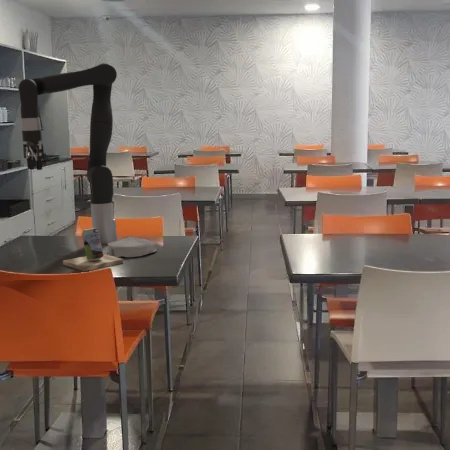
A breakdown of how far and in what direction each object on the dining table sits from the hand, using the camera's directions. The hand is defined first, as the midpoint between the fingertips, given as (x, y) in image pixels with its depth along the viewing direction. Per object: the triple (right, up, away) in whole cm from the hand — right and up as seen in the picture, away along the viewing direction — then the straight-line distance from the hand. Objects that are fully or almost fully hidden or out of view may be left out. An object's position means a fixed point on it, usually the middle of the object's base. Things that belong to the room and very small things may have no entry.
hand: (34, 169), depth 260 cm
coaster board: (+29, -37, -27) cm, 54 cm away
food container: (+41, -34, -9) cm, 54 cm away
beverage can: (+30, -36, -27) cm, 54 cm away
